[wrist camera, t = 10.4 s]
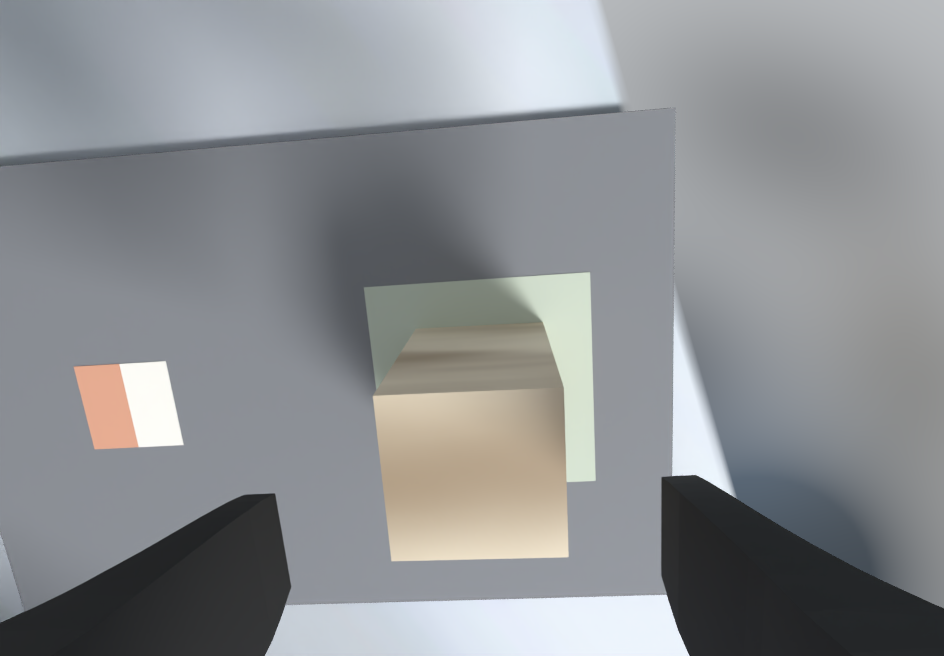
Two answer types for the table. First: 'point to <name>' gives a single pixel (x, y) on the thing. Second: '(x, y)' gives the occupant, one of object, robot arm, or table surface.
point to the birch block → (474, 445)
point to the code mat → (328, 342)
